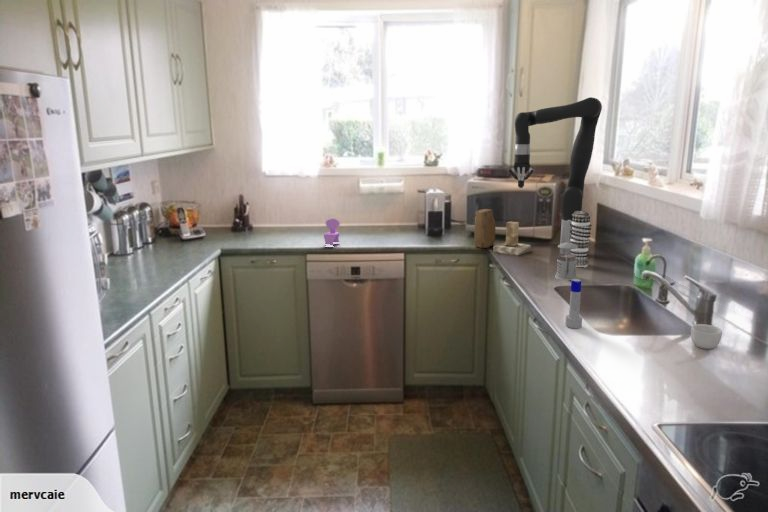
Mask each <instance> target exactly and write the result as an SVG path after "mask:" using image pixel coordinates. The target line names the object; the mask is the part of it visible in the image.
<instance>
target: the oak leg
mask: <svg viewBox="0 0 768 512" xmlns="http://www.w3.org/2000/svg"><path fill="white" fill-rule="evenodd" d="M519 225H520V222H519V221H508V222H506V227H505V229H506V230H505V231H506V232H505V242H506V246H508V247H517V246H518V243H519V230H520V229H519Z"/></svg>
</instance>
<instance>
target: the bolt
mask: <svg viewBox="0 0 768 512" xmlns="http://www.w3.org/2000/svg"><path fill="white" fill-rule="evenodd" d="M581 291H582V280H581V279H579V278H578V279H572V280H571V281H570V295H569V296H570V297H569V309H568V314H566V316H565V326H566V327H567V328H569V329H580V328H582V325H583V316H581V315H580V310H581V308H580V307H581V293H582V292H581Z"/></svg>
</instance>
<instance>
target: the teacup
mask: <svg viewBox="0 0 768 512" xmlns="http://www.w3.org/2000/svg"><path fill="white" fill-rule="evenodd" d="M722 335H723V330H722V329H721V328H719V327H718V326H714V325H711V324H705V323H704V324H703V323H699V324H697V323H696V324H693V325H692V326H691V328H690V338H691V341H692V343H693V344H694V346H696V347H698V348H701V349H703V350H711V349H714V348H717V347H718V346H719V344H720V343H721V341H722Z"/></svg>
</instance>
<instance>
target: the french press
mask: <svg viewBox="0 0 768 512" xmlns="http://www.w3.org/2000/svg"><path fill="white" fill-rule="evenodd" d="M567 223H569V225H570V223H572V221H571V220H568V221H567ZM557 248H558V249H560V248H561V249H567V252H566V254H561V253H559V254H558V257H557V260H556V262H557V263H556V265H557V266H556V268H557V269H556V274H555V275H554V276H555V278H556V279H555V278H554V279H555V280H558V279H560V280H559V281H562V280H572V279H577V277H578V276H577V268H576V267H575V266H576V265H577V264H576V262H577V259H576V255H574V254H571V252H570V254H568V249H576V248H578V246H577V245H576V244H573V243H569V232H568V242H566V243H562V244H560V243H559V244H558V245H557ZM574 264H575V265H574Z"/></svg>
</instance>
